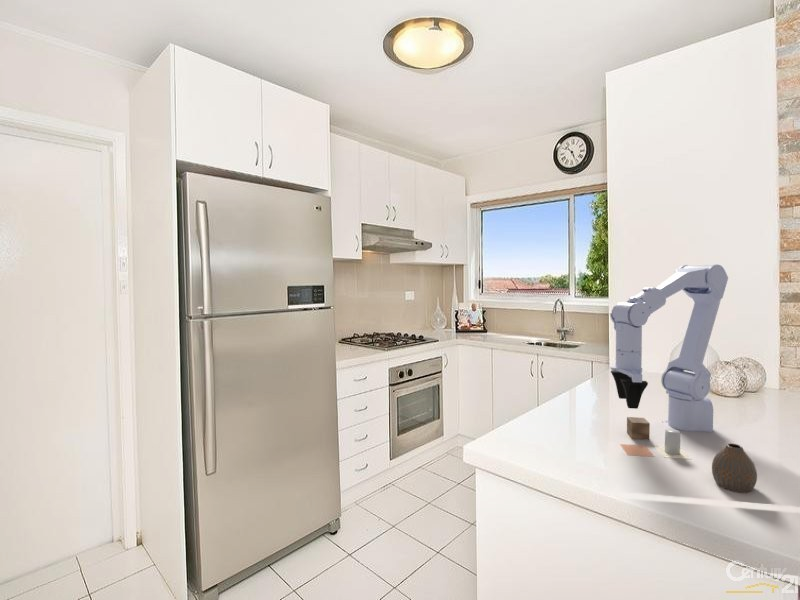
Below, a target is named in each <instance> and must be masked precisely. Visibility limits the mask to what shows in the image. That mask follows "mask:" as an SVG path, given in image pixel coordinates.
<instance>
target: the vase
mask: <svg viewBox="0 0 800 600" xmlns="http://www.w3.org/2000/svg"><path fill="white" fill-rule="evenodd" d="M757 471H758V470H757V469H756V466H755V463H754V461H752V459H751V458H750V456H749V455H748V454H747V452H745V450H744V448H743V446H741V445H740V444H736V443H727V444H726V445H725V447H724V448H722V449H721V450H720V451H719V452H717V453H716V455H715V456H714V457H713V459H712V463H711V473H712V477H713V479H714V481H715V483H716V484H717V485H718V486H720V487H721V488H723V489H726V490H727V491H732V492H736V493H742V494H743V493H750V492H751V491H753V490H754V488H755V486H756V485H757V481H758V473H757Z"/></svg>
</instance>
